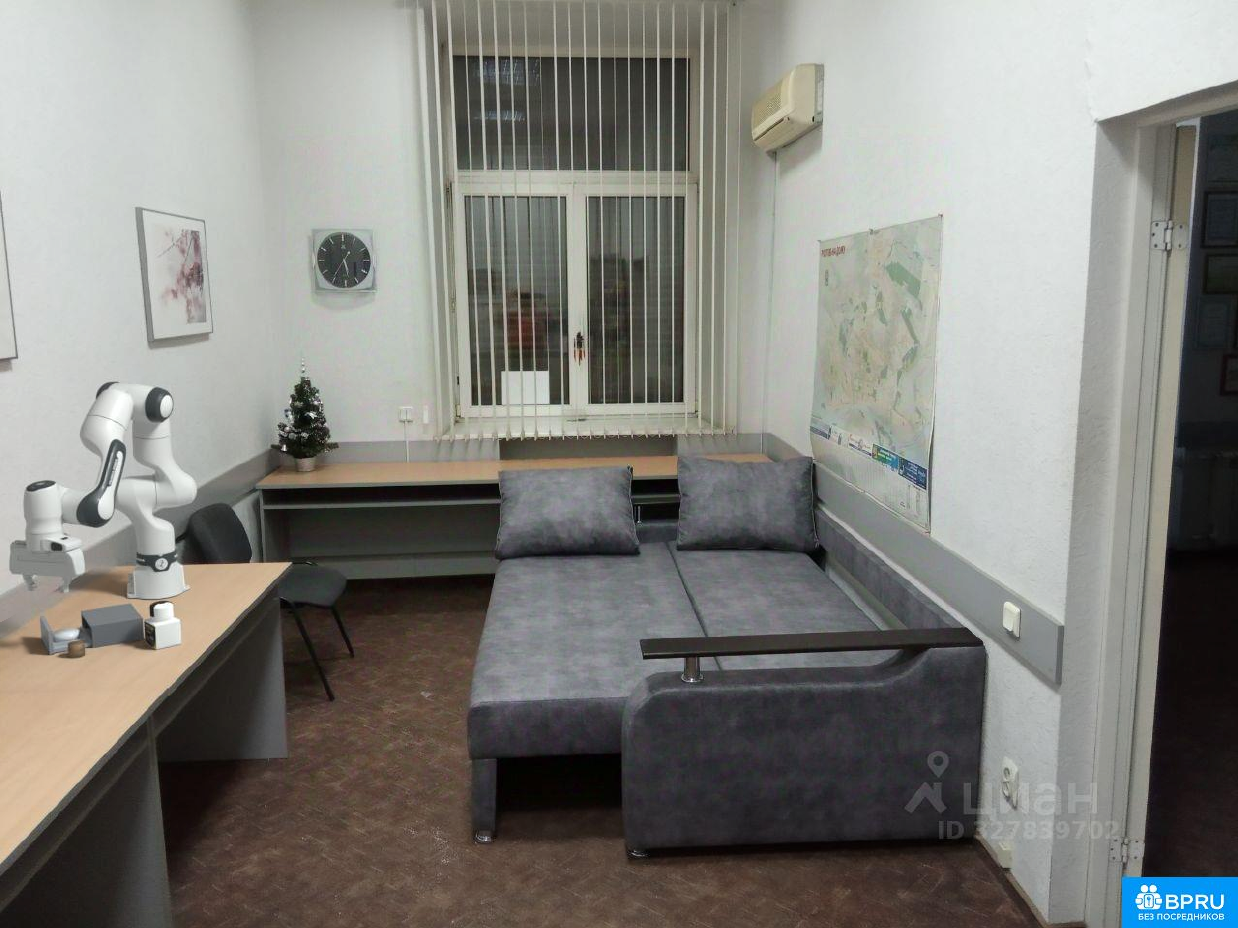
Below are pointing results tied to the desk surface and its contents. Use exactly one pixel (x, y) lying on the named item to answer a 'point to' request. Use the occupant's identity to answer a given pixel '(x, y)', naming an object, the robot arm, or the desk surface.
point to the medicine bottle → (162, 626)
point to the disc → (66, 635)
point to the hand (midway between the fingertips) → (48, 591)
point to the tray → (61, 646)
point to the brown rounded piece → (76, 649)
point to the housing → (113, 624)
